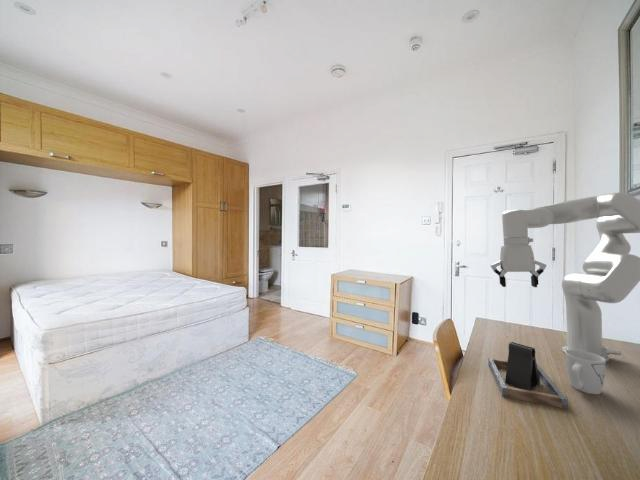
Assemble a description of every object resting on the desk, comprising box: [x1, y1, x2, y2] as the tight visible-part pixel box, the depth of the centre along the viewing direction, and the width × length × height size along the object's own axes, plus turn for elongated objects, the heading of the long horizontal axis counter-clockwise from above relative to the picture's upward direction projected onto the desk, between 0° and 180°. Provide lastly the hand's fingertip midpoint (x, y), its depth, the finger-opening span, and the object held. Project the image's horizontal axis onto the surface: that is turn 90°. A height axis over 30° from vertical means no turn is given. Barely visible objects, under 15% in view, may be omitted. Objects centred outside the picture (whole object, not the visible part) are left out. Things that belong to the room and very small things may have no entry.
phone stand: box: [504, 341, 541, 391], centre depth 79 cm, size 9×6×12 cm, turn 121°
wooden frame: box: [487, 357, 569, 410], centre depth 79 cm, size 14×20×2 cm
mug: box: [564, 350, 607, 395], centre depth 75 cm, size 11×8×10 cm
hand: (518, 286), depth 97 cm, fingers open, 9 cm apart
